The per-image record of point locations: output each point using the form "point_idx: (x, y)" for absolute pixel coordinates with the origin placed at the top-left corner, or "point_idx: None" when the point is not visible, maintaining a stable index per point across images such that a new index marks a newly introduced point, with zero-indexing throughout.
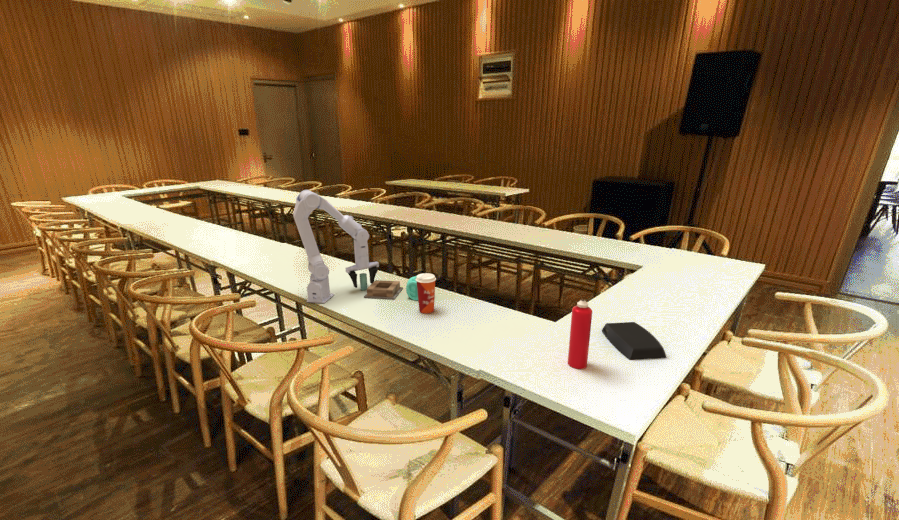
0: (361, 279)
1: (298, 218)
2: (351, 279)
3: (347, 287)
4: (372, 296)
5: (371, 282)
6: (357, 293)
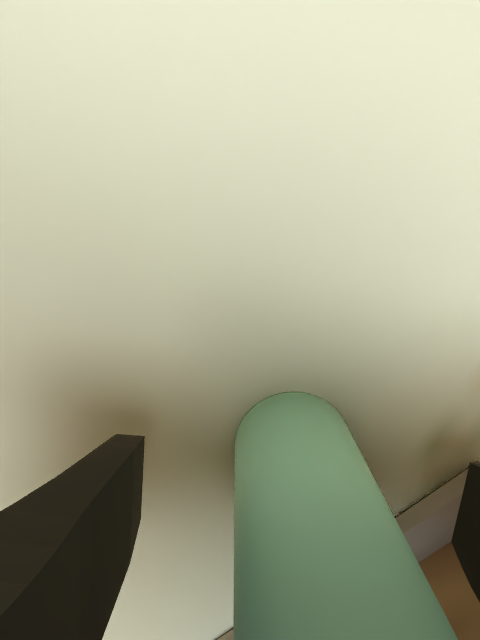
0: None
1: None
2: (5, 509)
3: (109, 155)
4: None
5: (471, 533)
6: None
